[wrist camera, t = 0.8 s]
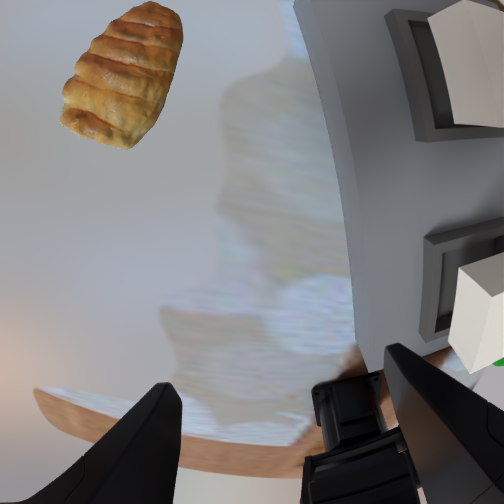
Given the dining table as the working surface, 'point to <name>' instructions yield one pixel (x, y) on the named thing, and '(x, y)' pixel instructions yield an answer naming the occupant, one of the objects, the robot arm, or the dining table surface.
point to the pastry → (124, 77)
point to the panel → (402, 168)
